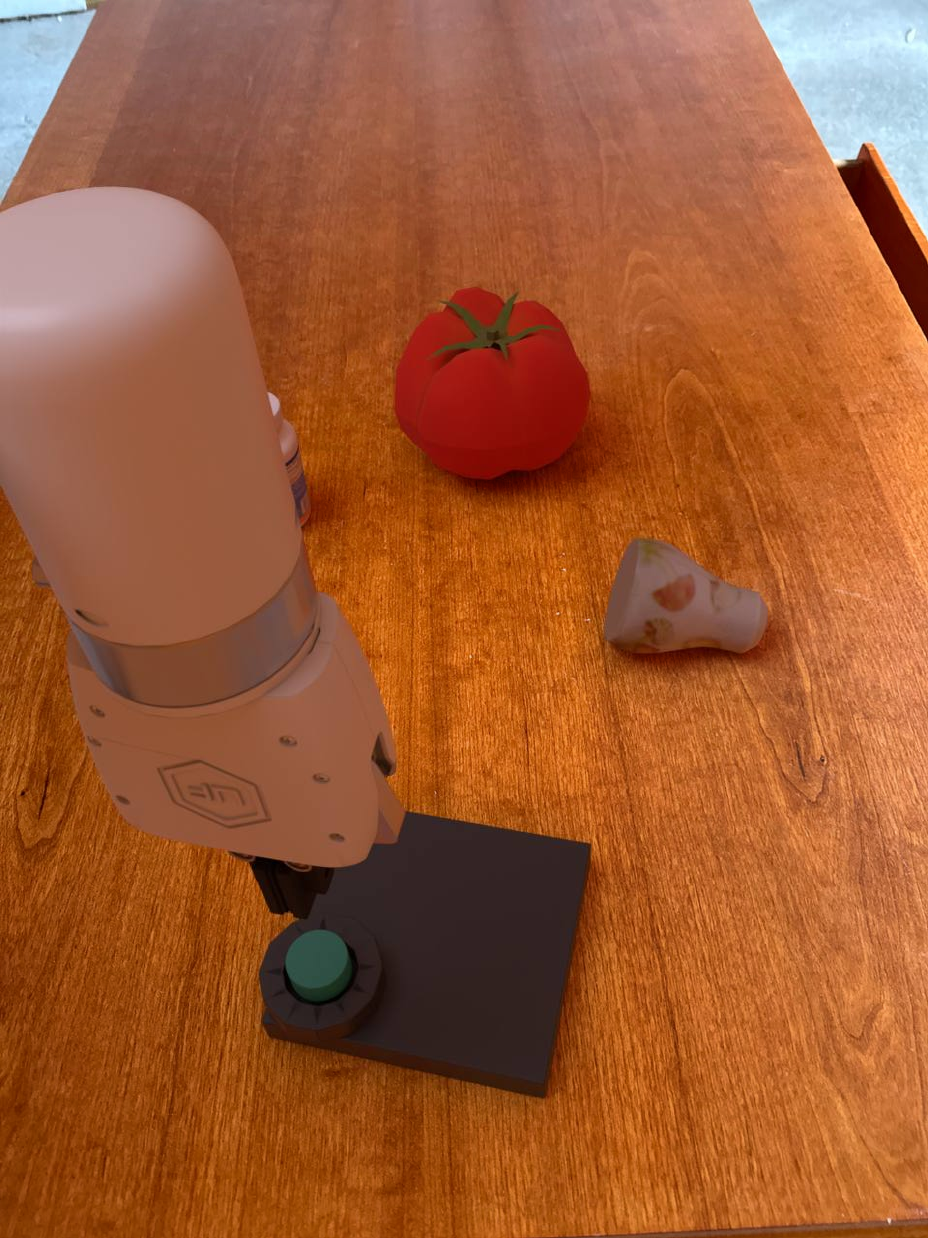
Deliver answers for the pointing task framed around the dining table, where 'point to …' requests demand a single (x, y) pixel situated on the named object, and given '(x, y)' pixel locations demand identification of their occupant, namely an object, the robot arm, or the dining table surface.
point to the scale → (444, 954)
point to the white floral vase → (678, 604)
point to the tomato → (491, 386)
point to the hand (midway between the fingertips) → (301, 886)
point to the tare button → (318, 965)
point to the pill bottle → (292, 460)
